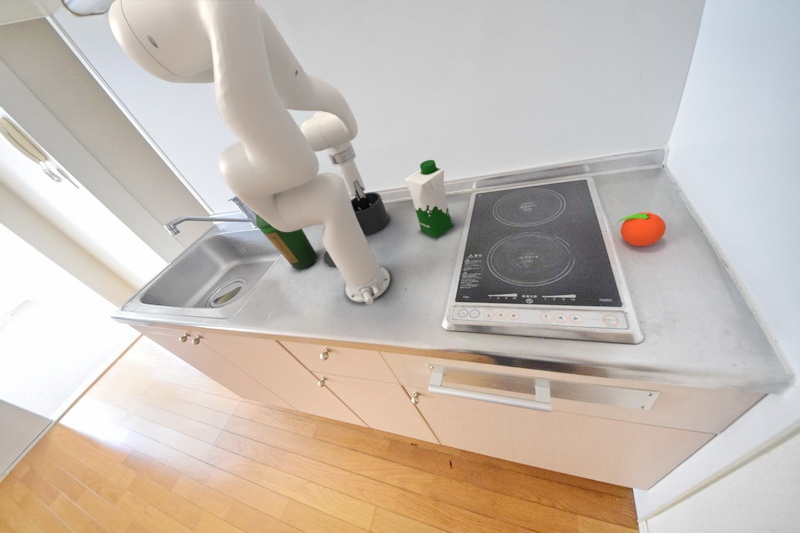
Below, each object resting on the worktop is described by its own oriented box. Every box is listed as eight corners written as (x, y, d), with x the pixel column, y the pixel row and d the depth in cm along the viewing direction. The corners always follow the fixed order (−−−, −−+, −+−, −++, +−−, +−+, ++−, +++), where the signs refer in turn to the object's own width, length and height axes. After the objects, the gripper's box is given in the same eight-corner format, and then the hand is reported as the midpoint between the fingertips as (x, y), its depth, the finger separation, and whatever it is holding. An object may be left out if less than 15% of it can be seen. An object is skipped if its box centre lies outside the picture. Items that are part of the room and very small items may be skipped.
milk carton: (457, 225, 80) (445, 161, 67) (435, 241, 78) (419, 178, 65) (437, 217, 87) (423, 157, 74) (416, 232, 84) (398, 172, 71)
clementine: (611, 250, 58) (619, 224, 53) (610, 231, 62) (618, 204, 57) (660, 254, 54) (674, 226, 49) (657, 233, 58) (669, 205, 53)
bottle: (293, 257, 94) (240, 186, 76) (321, 247, 94) (274, 173, 76) (289, 277, 86) (229, 202, 68) (320, 266, 86) (267, 187, 68)
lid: (368, 254, 83) (360, 239, 79) (328, 274, 81) (318, 259, 77) (357, 234, 93) (350, 220, 89) (322, 251, 92) (313, 238, 88)
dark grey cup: (393, 224, 91) (385, 201, 85) (360, 239, 90) (349, 217, 84) (382, 210, 101) (374, 188, 95) (352, 224, 99) (342, 203, 93)
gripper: (326, 154, 85) (350, 203, 97) (335, 167, 73) (361, 222, 85) (348, 144, 85) (368, 195, 97) (360, 156, 73) (382, 212, 85)
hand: (365, 207), depth 91 cm, fingers closed
